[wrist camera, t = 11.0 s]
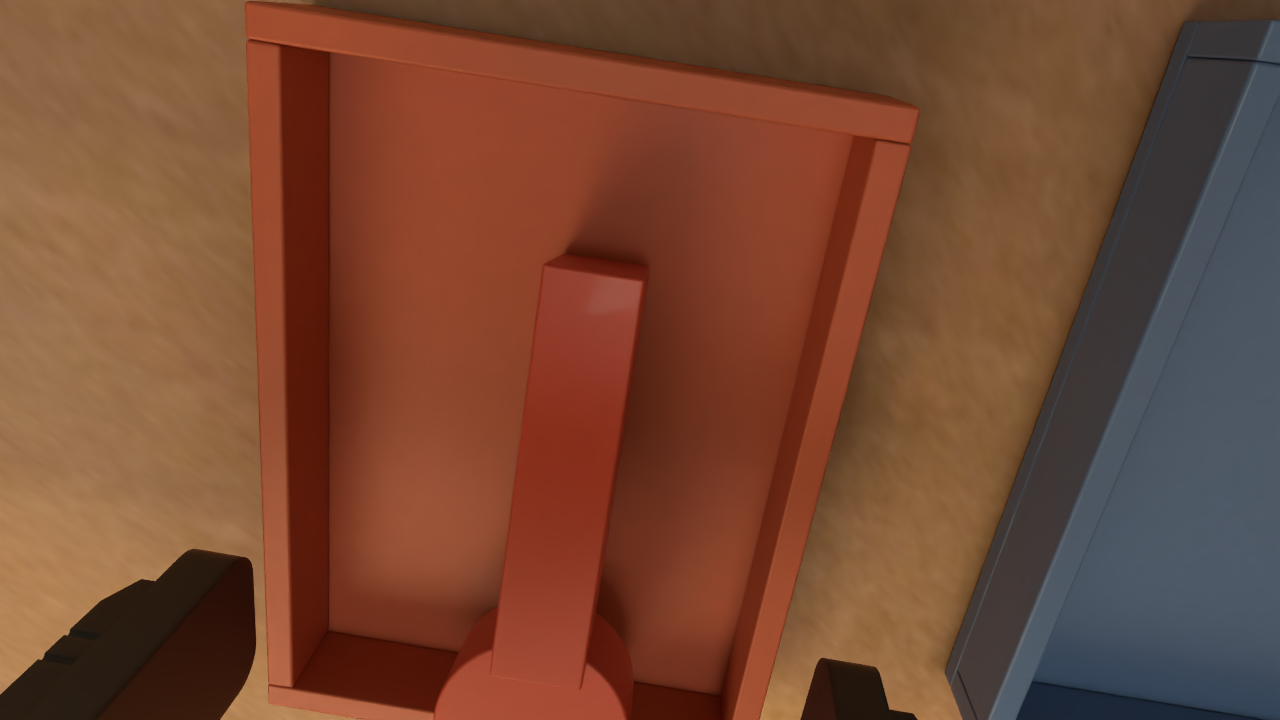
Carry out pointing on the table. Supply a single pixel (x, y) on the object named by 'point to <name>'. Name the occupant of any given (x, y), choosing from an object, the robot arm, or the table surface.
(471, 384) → the red tray
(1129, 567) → the blue tray
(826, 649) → the table surface
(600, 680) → the red spoon
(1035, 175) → the table surface
